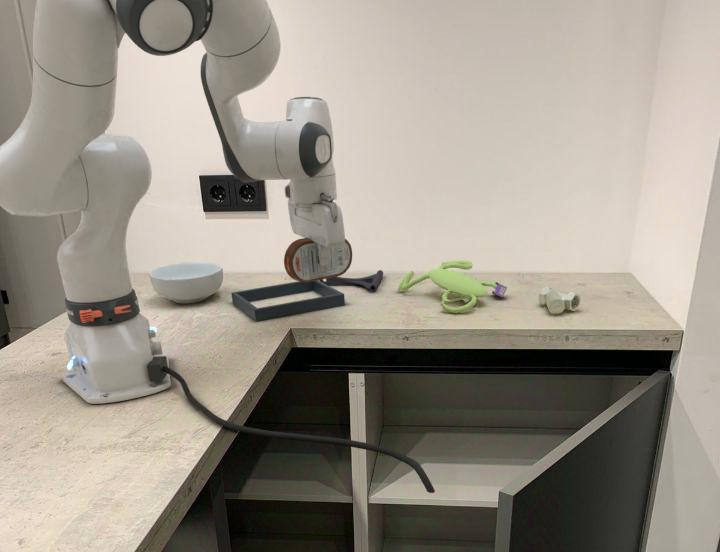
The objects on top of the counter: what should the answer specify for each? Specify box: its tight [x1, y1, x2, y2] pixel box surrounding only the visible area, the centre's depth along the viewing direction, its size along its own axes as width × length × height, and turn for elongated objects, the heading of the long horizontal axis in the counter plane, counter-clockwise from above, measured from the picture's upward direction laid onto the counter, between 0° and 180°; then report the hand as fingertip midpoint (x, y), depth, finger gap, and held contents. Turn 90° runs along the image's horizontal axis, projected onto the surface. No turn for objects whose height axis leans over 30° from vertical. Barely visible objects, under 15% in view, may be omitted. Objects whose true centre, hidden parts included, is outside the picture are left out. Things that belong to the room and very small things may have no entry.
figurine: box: [397, 260, 508, 314], centre depth 165 cm, size 18×27×6 cm
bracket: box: [319, 269, 384, 293], centre depth 179 cm, size 14×15×3 cm
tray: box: [230, 280, 346, 322], centre depth 167 cm, size 17×21×2 cm
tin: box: [283, 237, 353, 282], centre depth 149 cm, size 15×3×8 cm, turn 124°
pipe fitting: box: [538, 286, 582, 315], centre depth 152 cm, size 8×4×7 cm
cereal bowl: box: [148, 261, 224, 304], centre depth 173 cm, size 17×17×7 cm
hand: (319, 263), depth 149 cm, fingers closed on tin, 3 cm apart
